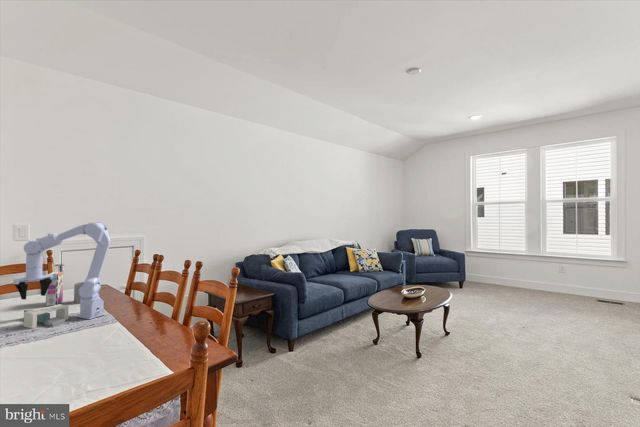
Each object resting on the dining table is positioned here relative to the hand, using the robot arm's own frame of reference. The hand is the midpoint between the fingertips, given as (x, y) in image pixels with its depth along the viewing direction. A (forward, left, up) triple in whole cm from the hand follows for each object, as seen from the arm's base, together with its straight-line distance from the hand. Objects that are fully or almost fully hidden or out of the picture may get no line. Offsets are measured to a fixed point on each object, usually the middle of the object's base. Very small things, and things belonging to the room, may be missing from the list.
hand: (33, 297), depth 151 cm
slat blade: (-3, 0, -10) cm, 11 cm away
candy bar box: (+20, -20, -10) cm, 30 cm away
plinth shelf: (-10, +1, -10) cm, 14 cm away
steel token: (-16, +1, -10) cm, 19 cm away
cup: (+11, -29, -10) cm, 33 cm away
